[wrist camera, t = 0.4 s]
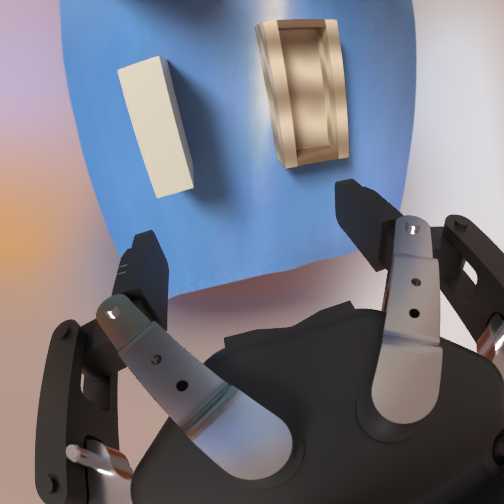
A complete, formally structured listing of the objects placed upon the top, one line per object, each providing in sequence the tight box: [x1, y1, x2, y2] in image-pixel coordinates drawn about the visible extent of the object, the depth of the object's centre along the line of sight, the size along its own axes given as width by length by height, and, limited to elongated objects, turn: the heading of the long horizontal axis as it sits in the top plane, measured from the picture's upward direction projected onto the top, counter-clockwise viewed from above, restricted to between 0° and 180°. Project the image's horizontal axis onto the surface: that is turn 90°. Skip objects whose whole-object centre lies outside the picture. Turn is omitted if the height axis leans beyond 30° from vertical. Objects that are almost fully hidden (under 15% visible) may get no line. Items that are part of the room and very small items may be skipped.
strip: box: [117, 56, 194, 198], centre depth 26 cm, size 14×4×8 cm, turn 10°
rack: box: [255, 19, 349, 169], centre depth 29 cm, size 18×9×4 cm, turn 10°
